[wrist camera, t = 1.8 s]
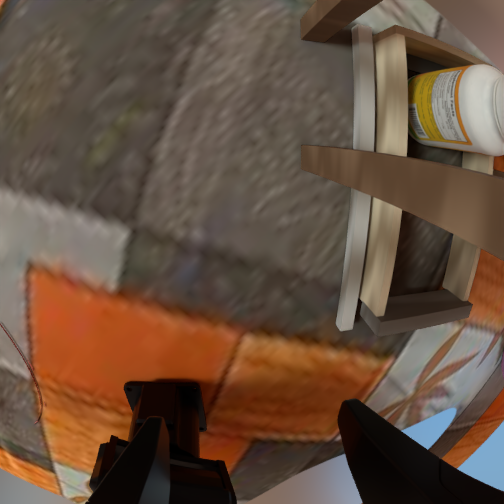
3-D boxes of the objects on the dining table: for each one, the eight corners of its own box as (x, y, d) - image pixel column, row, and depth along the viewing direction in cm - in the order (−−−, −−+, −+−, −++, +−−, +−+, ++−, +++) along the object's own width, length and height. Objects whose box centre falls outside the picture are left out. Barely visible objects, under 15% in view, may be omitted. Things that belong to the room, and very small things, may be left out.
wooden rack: (443, 296, 23) (468, 317, 20) (356, 309, 22) (377, 337, 19) (466, 68, 16) (498, 65, 13) (372, 36, 15) (401, 21, 12)
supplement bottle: (456, 99, 18) (555, 101, 9) (439, 158, 19) (541, 183, 10) (406, 61, 16) (509, 38, 7) (386, 124, 18) (496, 129, 9)
